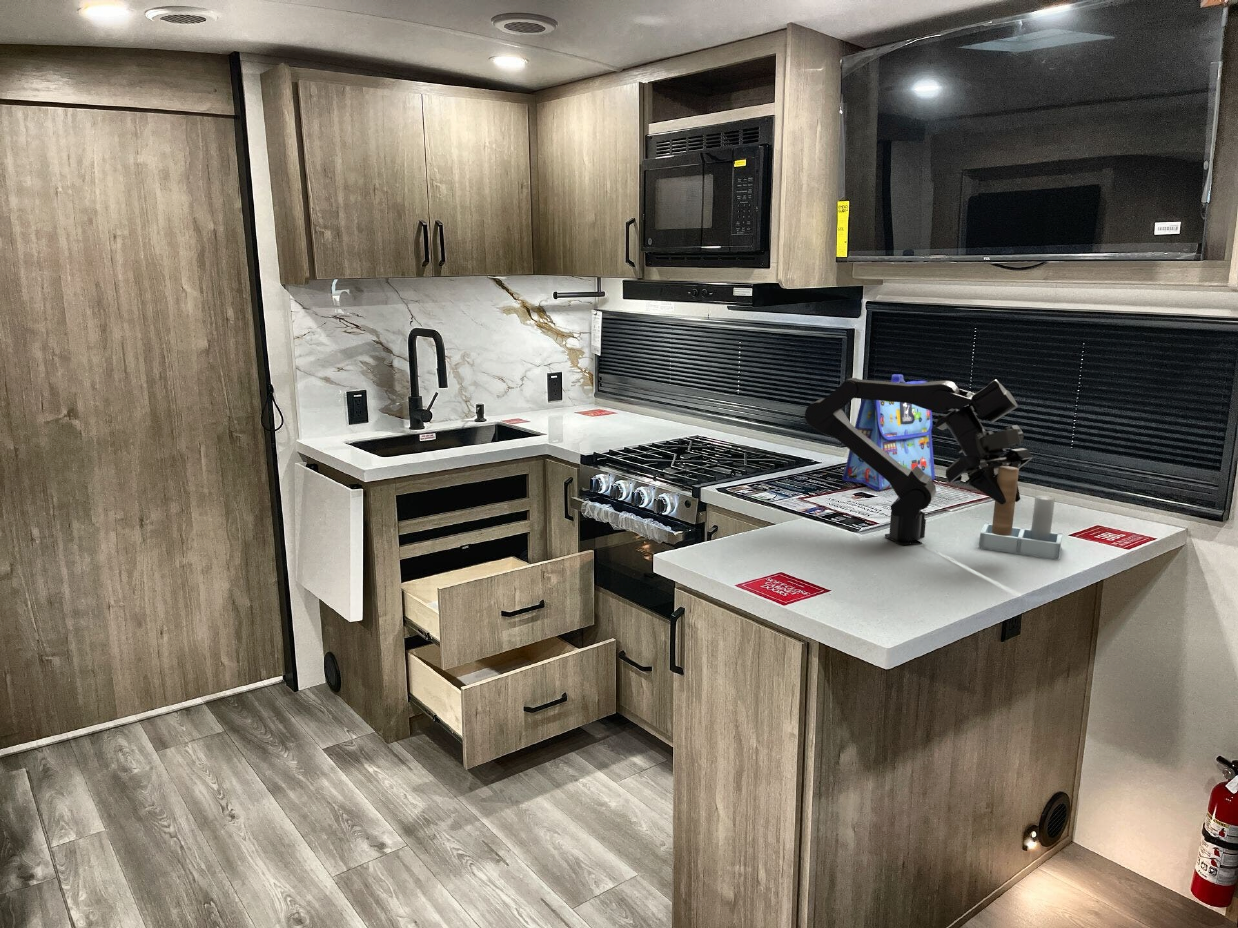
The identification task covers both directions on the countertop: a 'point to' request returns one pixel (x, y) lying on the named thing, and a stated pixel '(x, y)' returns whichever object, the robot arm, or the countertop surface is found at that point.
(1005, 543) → the slot rack
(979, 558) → the countertop surface
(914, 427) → the lunch bag
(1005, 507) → the walnut peg
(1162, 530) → the countertop surface
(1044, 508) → the grey peg
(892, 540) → the robot arm
